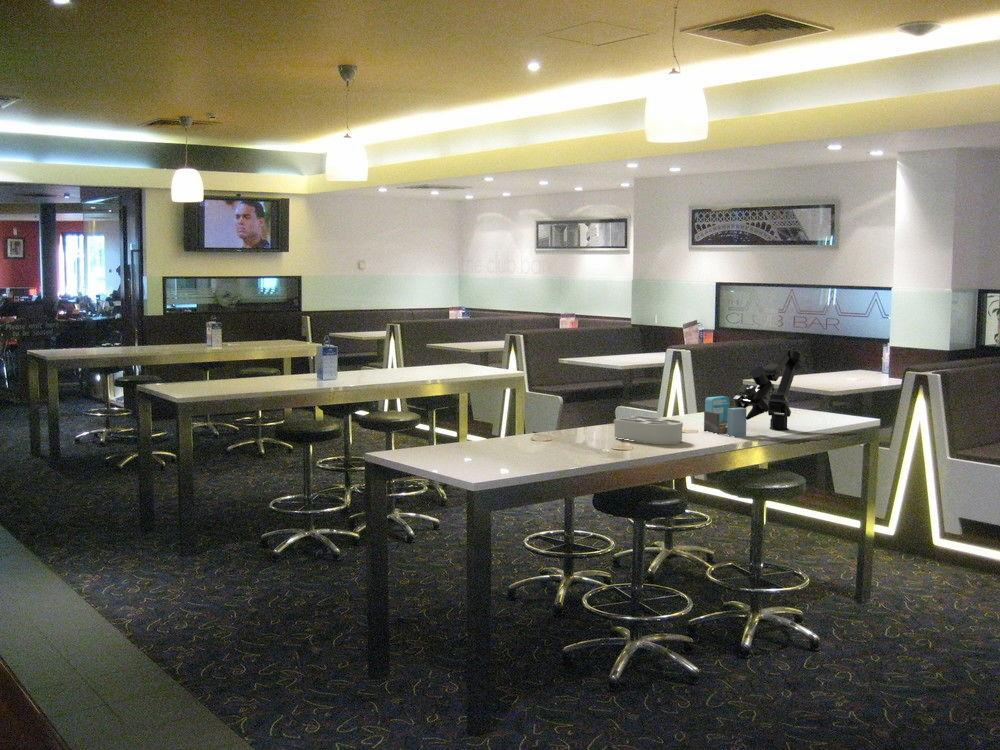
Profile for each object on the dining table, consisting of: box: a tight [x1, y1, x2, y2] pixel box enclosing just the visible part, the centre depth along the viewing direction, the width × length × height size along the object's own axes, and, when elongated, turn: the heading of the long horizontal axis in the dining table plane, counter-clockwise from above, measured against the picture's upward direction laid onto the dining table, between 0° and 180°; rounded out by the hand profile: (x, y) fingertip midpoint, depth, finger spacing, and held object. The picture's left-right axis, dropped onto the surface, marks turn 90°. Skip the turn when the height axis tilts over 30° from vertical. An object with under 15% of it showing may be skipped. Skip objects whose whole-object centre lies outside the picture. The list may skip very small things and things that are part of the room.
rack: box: [703, 410, 727, 435], centre depth 452 cm, size 11×10×9 cm
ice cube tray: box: [613, 415, 684, 445], centre depth 431 cm, size 17×28×9 cm, turn 44°
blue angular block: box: [726, 407, 747, 437], centre depth 440 cm, size 7×4×12 cm, turn 114°
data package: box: [704, 395, 730, 423], centre depth 482 cm, size 12×4×12 cm, turn 125°
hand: (739, 417), depth 441 cm, fingers open, 9 cm apart
